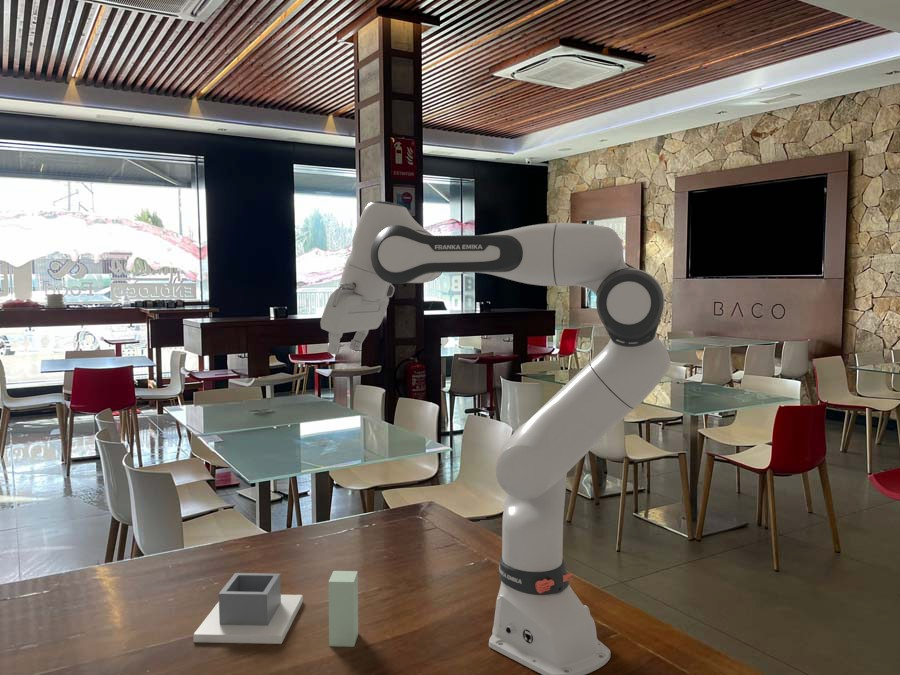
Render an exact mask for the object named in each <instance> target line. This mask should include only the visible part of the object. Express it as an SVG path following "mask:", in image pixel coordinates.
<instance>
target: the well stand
mask: <svg viewBox="0 0 900 675" xmlns="http://www.w3.org/2000/svg"><path fill="white" fill-rule="evenodd" d="M281 586H282V585H281V573H276V572H275V573H274V572H273V573H271V572H270V573H266V572H264V573H263V572H262V573H259V572H235V573H233V575H232V576H231V577H230V579H229V580H228V581H227V583H225V585H224V586H223V588H221V590H220V591H219V593H218V602H216V604H215V606H214V607H213V608H212V609H211V611H210V612H209V613H208V615H207V616H206V617H205V619H203V621H202V623H201V624H200V625H199V626H198V628H197V629H196V630H195V631H194V633H193V637H192V638H193V643H213V644H214V643H215V644H216V643H217V644H219V643H222V644H226V643H227V644H267V645H268V644H275V645H276V644H279V645H281V644H282V643H283V641H284V639H285V638H286V636H287V633H288V632H289V630H290V628H291V626H292V624H293V622H294V620H295V618H296V616H297V614H298V612H299V611H300V609H301V606H302V605H303V602H304V601H303V600H304V598H303V597H304V596H303V594H281V593H282V592H281V590H282V588H281Z"/></svg>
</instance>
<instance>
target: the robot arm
mask: <svg viewBox="0 0 900 675" xmlns="http://www.w3.org/2000/svg"><path fill="white" fill-rule="evenodd" d="M351 245H352V246H351V247H352V248H351V252H350V254H349V256H348V258H347V259H346V262H345V265H344V267H343V272H342V275H341V278H340V281H339V287H338V288H336V289H335V290H333V291H332V292H331V293H330V295H329V297H328V299H327V302H326V305H325V307H324V310H323V313H322V316H321V319H320V322H319V324H320V329H322V330H324V331H326V332H328V347H327V350H326V351H327V353H328V354H331V355H338V354H339V353H340V350H341V346H342V345H341V344H340V341H341V339H342V337H343V335H344V334H345V333H353V332H355V334H354V336H353V339H351V340H350V344H349V348H350V349H351V350H353V351H359V350H361V347H362V344H363V342H364V341H365V339H366V337H367V336H368V334H369V331H370V330H376V329H378V328H379V327H380V325H381V324H382V322H383V320H384V317H385V314H386V312H387V308H388V305H389V302H390V298H392V297H393V295H394V293H395V289H396V288H395V286H394V285H401V284H424V283H429V282H432V281H435V280H436V279H437V278H439V277H440V276H441V275H442V274H443V273H446V274H447V273H477V274H487V275H492V276H495V277H498V278H503V279H506V280H509V281H510V280H511V281H514V282H518V283H523V284H527V285H534V286H541V287H542V286H543V287H580V288H585V289H588V290H590V292H591V291H592V292H593V293H594V294H595V295H596V298H595V300H596V301H595V306H596V311H597V315H598V317H599V320H600V322H601V323H602V325H603V327H604V329H605V330H606V332H607V334H608V336H609V338H610V339H609V341H608V343H607V344H606V345H605V346H604V348H603V349H602V350H601V351H600V352H599V353H598V354H597V355H596V356H594V357H593V358H592V359H591V360H590V361H589V362H588V363H587V364H586V365H585V366H583V367H582V369H581V370H579V371H578V372H577V373H576V374H575V375H574V376H573V377H572V378H571V379H570V380H569V381H567V383H565V385H564V386H562V387H561V388H560V389H559V390H558V391H557V392H556V393H555V394H554V395H553V396H552V397H551V398H550V399H548V401H547V402H546V403H545V404H544V405H543V406H542V407H540V408H539V409H538V410H537V411H536V412H535V413H534V414H533V415H532V416H531V417H530V419H528V420H527V421H526V422H524V423H523V424H521V425H520V426H518V427H517V429H516V430H515V431H514V432H513V433H512V434H511V435H510V436H509V437H508V439H506V441H505V442H504V443H503V444H502V445H501V447H500V449H499V451H498V452H497V453H498V454H497V456H496V462H495V476H496V479H497V482H498V484H499V486H500V487H501V489H502V490H503V491H504V492H505V501H504V506H503V514H502V527H501V528H502V530H501V534H502V536H501V538H502V542H501V545H502V548H501V552H502V553H501V554H502V555H500V559H499V564H498V571H499V573H498V574H499V576H498V577H499V579H500V586H499V591H498V593H497V597H496V602H495V611H494V619H493V620H494V621H493V626H492V629H491V630H492V631H491V632H492V634H491V636H490V637H489V641H488V647H489V648H490V649H492V650H494V651H496V652H498V653H500V654H501V655H504V656H506V657H507V658H509V659H512V660H513V661H515V662H517V663H519V664H521V665H523V666H525V667H526V668H529V669H530V670H533V671H534V672H537V673H539V674H541V675H587V674H590V673H592V672H594V671H596V670H599V669H600V668H602V667H603V666H605V665H606V664H607V663H608V661H610V659H611V657H612V656H611V653H612V652H611V650H610V649H609V647H607V646H606V645H605V644H604V643H603V642H601V641H600V640H599V639H598V636H597V628H596V623H595V620H594V618H593V616H592V615H591V611H590V608H589V606H587V605H585V604H583V603H582V601H581V600H580V598H579V597H578V596H577V594H576V593H575V591H573V589H572V587H571V586H570V581H571V580H573V579H574V578H573V577H572V576H573V575H574V573H573V572H570V573H568V571H567V566H566V563H565V560H564V558H563V553H564V552H563V551H564V550H563V548H564V547H563V544H564V542H563V541H564V540H563V539H564V515H565V514H564V512H565V502H566V491H567V490H566V489H567V479H568V478H567V476H568V474H567V473H568V472H570V470H571V469H573V468H574V467H575V466H576V465H577V464H578V462H580V461H581V460H582V459H583V458H584V457H585V455H587V453H588V452H589V451H591V450H592V449H593V447H594V446H595V445H596V444H597V443H598V442H599V441H600V440H601V439H603V437H605V435H606V434H608V433H609V432H610V431H611V430H612V429H613V428H615V426H617V425H618V424H619V423H620V422H621V421H623V420H624V419H625V417H627V416H628V415H629V414H630V413H631V412H633V411H634V410H635V409H636V408H637V407H638V406H639V405H640V404H642V402H644V400H645V399H646V398H647V397H648V396H649V395H650V394H651V393H652V392H653V391H654V390H655V389H656V387H657V386H658V385H659V384H660V382H661V381H662V380H663V378H664V377H665V375H667V373H668V371H669V370H670V366H671V358H670V354H669V352H668V349H667V347H666V345H665V344H664V343H663V342H662V341H661V340H660V339H659V338H658V336H657V331H658V328H659V324H660V321H661V319H662V318H661V317H662V315H663V312H664V309H665V299H666V298H665V293H664V289H663V288H662V285H661V283H660V281H659V280H657V279H656V277H655V276H654V275H652V274H650V273H649V272H647V271H645V270H642V269H638V268H636V267H634V266H632V265H631V264H628V263H627V262H625V259H624V248H623V243H622V241H621V238H620V236H619V234H618V233H617V232H616V231H615V230H614V229H612V228H611V227H608V226H603V225H597V224H589V223H580V222H579V223H578V222H554V223H553V222H552V223H551V222H550V223H538V224H532V225H527V226H521V227H518V228H513V229H508V230H503V231H498V232H493V233H488V234H487V233H486V234H478V235H477V234H474V235H473V234H472V235H470V234H469V235H467V234H466V235H463V234H462V235H434V234H432V233H430V232H429V231H428V230H427V229H425V228H424V227H423V226H422V225H421V224H419V223H418V222H417V220H415V219H414V218H413V216H412V215H411V213H410V212H409V210H408V208H407V207H406V206H404V205H402V204H400V203H396V202H395V203H394V202H391V201H383V200H382V201H381V200H373V201H371V202H369V203H367V205H366V206H365V207H364V209H363V210H362V213H361V215H360V217H359V220H358V221H357V225H356V229H355V231H354V235H353V238H352V244H351Z"/></svg>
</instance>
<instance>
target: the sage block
mask: <svg viewBox="0 0 900 675" xmlns="http://www.w3.org/2000/svg"><path fill="white" fill-rule="evenodd" d="M358 572H359V571H357V570H333V571H332V573H331V575H330V577H329V580H328V581H327V583H328V647H347V648H348V647H355V645H356V642H357V639H358V636H359V574H358Z"/></svg>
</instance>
